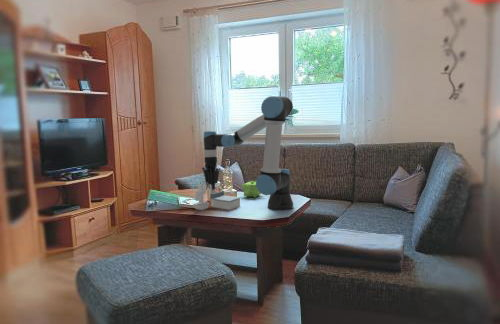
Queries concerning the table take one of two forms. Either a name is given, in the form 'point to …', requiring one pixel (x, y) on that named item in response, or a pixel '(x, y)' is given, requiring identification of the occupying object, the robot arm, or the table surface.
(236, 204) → the mailer box
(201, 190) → the figurine
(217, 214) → the table surface
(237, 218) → the table surface
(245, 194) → the green lumpy block
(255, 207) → the table surface
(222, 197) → the lid
